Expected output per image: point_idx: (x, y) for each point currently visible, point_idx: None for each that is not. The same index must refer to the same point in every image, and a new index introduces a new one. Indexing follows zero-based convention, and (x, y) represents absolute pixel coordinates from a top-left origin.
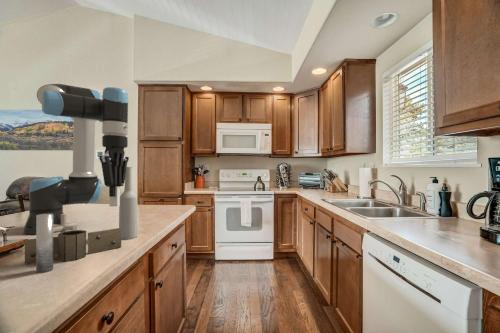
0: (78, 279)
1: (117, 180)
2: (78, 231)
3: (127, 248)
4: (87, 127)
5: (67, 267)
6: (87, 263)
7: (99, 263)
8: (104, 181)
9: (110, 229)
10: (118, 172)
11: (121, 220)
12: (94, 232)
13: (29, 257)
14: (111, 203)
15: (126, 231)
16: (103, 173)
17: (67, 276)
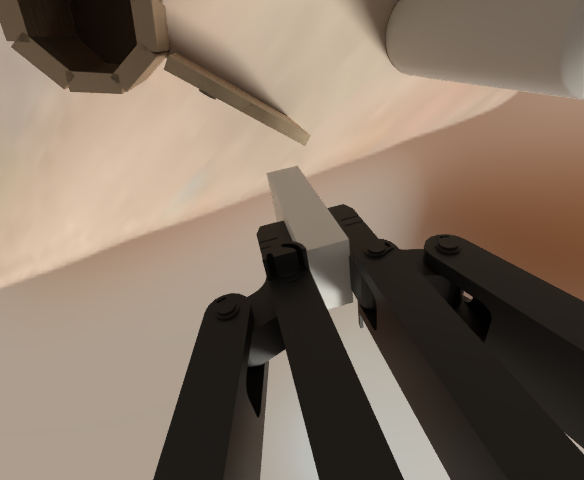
0: (17, 239)
1: (378, 331)
2: (131, 4)
3: (282, 155)
4: None
5: (40, 120)
6: (107, 153)
7: (129, 189)
8: (199, 341)
9: (268, 116)
10: (432, 438)
11: (442, 20)
12: (193, 84)
13: None
14: (272, 195)
15: (405, 55)
16: (159, 476)
17: (3, 194)
